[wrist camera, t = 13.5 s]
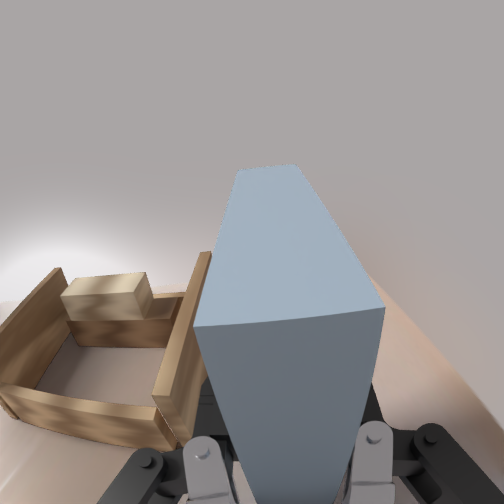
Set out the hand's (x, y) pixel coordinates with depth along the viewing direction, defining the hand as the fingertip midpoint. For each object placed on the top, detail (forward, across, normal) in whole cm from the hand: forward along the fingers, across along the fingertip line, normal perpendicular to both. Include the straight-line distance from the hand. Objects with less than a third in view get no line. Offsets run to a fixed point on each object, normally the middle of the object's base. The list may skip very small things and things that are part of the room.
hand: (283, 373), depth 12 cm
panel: (-2, 0, +12) cm, 12 cm away
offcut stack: (+17, +18, +12) cm, 28 cm away
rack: (+12, +18, +12) cm, 25 cm away
